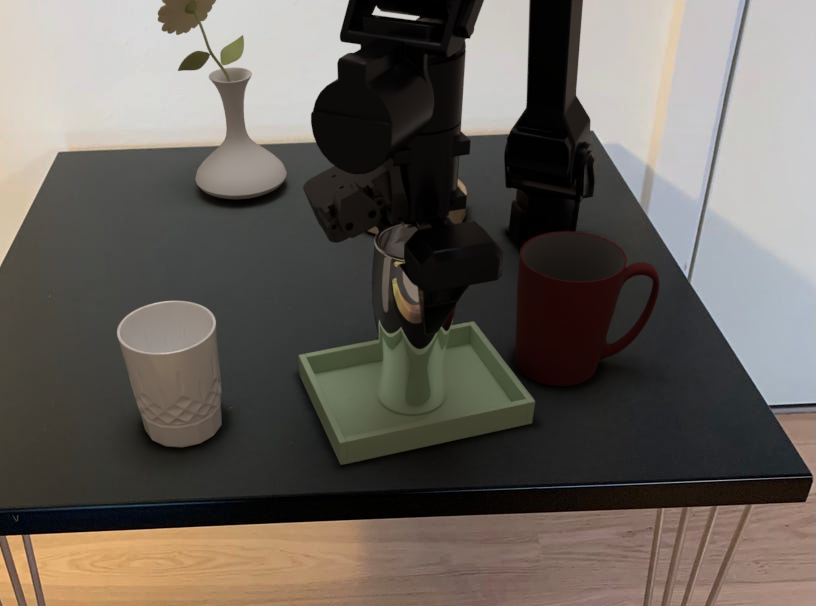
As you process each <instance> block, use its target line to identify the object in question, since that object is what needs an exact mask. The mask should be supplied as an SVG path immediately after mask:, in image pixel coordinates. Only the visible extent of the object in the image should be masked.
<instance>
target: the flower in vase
mask: <svg viewBox="0 0 816 606" xmlns="http://www.w3.org/2000/svg"><path fill="white" fill-rule="evenodd" d="M161 2H162V3H163V4H164V5H161V6H160V7H159V9H158V11H157V16H158V17H157V22H158V23H161V24H162V26H161V31H162V32H167V34H169V35H172V34H173V33H175V35H176V36H180V35H183V34H187V33H189V32H190V31H191V29H195V28H197V27H198V26H199V28H200V32H201V34H202V37H203V40H204V43H205V47H206V49H207V51H208V52H207V51H204V50H203V51H202V50H196V51H193V52H191V53H189V54H188V55H187V56H185V58H183V60H182V61H181V63H180V64H179V67H178V69H177V71H178V72H181V71H198V70H200V69H202V68H203V67H204V66H205V64H207V62H208V60H209V59H210V56H211V57H212V59H213V60H214V62H215V63H216V64H217V66H218V67H219V69H216V70H214V71H212V72H210V74H209V75H208V79H209V81H211V82H212V84H213V85H214V86H215V87H216V90H217V92H218V93H219V96H220V99H221V102H222V106H223V112H224V117H225V125H226V127H225V128H226V132H225V137H224V140H223V141H222V143H221V144H220V145H219V146H218V147H217V148H216V149H214V150H213V151H212V152H211V153H210V154H209V155H208V156H207V157H206V158H205V159H204V160H203V162H202V163H201V164H200V165H199V167H198V168H197V170H196V173H195V174H196V175H195V183H196V185H197V186H198V187H199V188H200V189H201V190H202V191H203V192H204V193H205V194H207V195H209V196H212V197H215V198H219V199H227V200H246V199H252V198H258V197H261V196H264V195H267V194H270V193H271V192H274V191H275V190H278V188H280V187H281V186H282V184H283V183H284V181H285V179H286V177H287V174H288V173H287V169H286V167H285V165H284V163H283V161H282V160H280V159H279V157H277V156H276V155H275V154H274V153H272V152H271V151H269V150H268V149H266V148H265V147H263V146H262V145H259V143H256V142H255V141H254V140H253V139H252V138H251V137H250V136H249V134H248V131H247V127H246V121H245V94H246V89H247V85H248V83H249V81H250V80H251V78H252V76H253V72H252V71H251V70H250V69H247V68H244V67H224V66H228V65H230V64H233V63H234V62H237V61H238V60H239V59H241V58H242V56H243V53H244V48H245V38H244V37H245V36H244V35H243V34H242V35H241V36H239V37H238V38H236V39H235V40H234V41H232V42H230V43H229V44H227V45H225V46H224V47H223V48H222V49H221V50H220V56H219V57H220V58H219V59H220V61H219V59H218V58H217V57H216V56H215V54H214V52H213V51H212V48H211V46H210V44H209V41H208V38H207V34H206V32H205V28H204V26H203V24H202V22H204V21H206V20H207V18H208V13H211V11H212V9H213V5H215V3H216V2H217V0H161Z"/></svg>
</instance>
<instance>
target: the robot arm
mask: <svg viewBox="0 0 816 606" xmlns="http://www.w3.org/2000/svg"><path fill="white" fill-rule="evenodd" d="M484 2H485V0H348V1H347V6H346V10H345V14H344V17H343V21H342V24H341V29H340V32H339V40H340V42H341V43H347V44H353V45H358V46H359V45H360V48H359V49H358V50H357V51H354V52H348V53H346V54H344V55H342V56H341V57H339V58H338V60H337V63H336V65H337V66H336V67H337V78H336V79H335V80H333V81H332V82H330V83H329V84H327V85H326V86H325V87H324V88H323V89H322V90H320V92H319V94H317V95H318V96H317V97H316V99H315V101H314V104H313V105H314V106H313V108H312V111H311V113H310V125H311V132H312V135H313V138H314V141H315V143H316V145H317V147H318V150H320V153H321V154H322V155H323V156H324V157H325V158H326V159H327V161H328V162H329V163H330V164H331V165H333V166H332V167H330V168H328V169H325V170H324V171H322V172H320V173H318V174H316V175H314V176H312V177H311V178H309V179H307V181H305V182H304V184H303V186H302V190H303V191H304V195H305V196H306V199H307V201H308V203H309V205H310V208H311V210H312V213H313V215H314V216H315V218H316V219H315V220H317V223H318V225H319V227H321V229H322V231H323V232H324V234H325V235H326V238H327V240H328V241H329V242H331V243H335V244H336V243H341V242H344V241H346V240H347V239H349V238H350V239H354V238H357V237H358V236H360V235H362V234H364V233H366V232H368V230H370V229H371V228H373V227H375V226H376V227H377V228H378V231H381V230H382V229H383V228H385V227H387V226H390V225H392V224H396V223H401V224H402V225H403V226H404V227H405V228H412V227H416V228H417V231H416V232H415V233H414V234H413V235H412V236H411V237H410V239H409V240H408V241H407V242H406V243H405V244H404V260H405V263H403V264H399V266H400V268H401V269H402V270H403V272H404V273H405V275H406V276H407V277H408V279H409V280H410V282H411V283H412V284H414V285H415V286H417V288H418V296H419V304H420V312H421V319H422V325H423V331H424V333H425V334H426V335H429V334H434V333H437V332H438V331H439V330H440V328H441V327H442V325H443V324H444V322H445V320H446V319H447V317H448V316H449V314H450V313H451V311H452V310H453V308H454V307H455V305H456V306H457V304H458V302H459V301H460V299H461V297H463V294H464V293H466V291H467V290H468V288H469V287H470V286H474V285H478V284H485V283H490V282H495V281H499V279H500V278H501V277H502V275H503V267H504V266H503V265H504V256H505V251H504V249H503V248H502V247H501V246H500V245H499V244H498V243H497V242H496V241H495V240H494V239H493V238H492V236H491V235H490V234H489V233H488V232H487V231H486V230H485V229H484V228H483V227H482V226H481V225H480V224H479V223H477V222H476V221H475V220H469V221H465V222H463V221H462V223H458V224H455V223H454V222H453V221H452V220H451V219H450V217H449V211H455V210H461V209H466V210H467V201H468V200H467V198H468V195H467V196H466V194H465V193H464V192H463V191H462V190H461V189H460V188H459V187H458V186H457V184H458V179H459V166H460V157H461V156H468V155H470V154H471V139H470V138H469V137H468V136H467V135H466V134H465V133H463V132H462V119H463V118H462V117H463V103H464V102H463V101H464V85H465V71H466V69H465V68H466V56H467V55H466V54H467V53H466V52H467V50H466V48H467V45H466V43H467V42H466V40H467V39H468V40H469V39H471V37H472V35H473V34H474V32H475V26H476V23H477V22H478V18H479V15H480V13H481V10H482V7H483V5H484ZM583 5H584V0H529V2H528V33H527V34H528V38H527V68H526V69H527V73H526V74H527V75H526V102H525V103H526V105H525V109H524V110H523V111H522V113H521V115H520V116H519V117H518V118H517V120H516V122H515V123H514V125H513V126H512V128H511V129H510V131H509V134H508V136H507V137H506V144H505V147H504V154H503V155H504V156H503V163H504V180H505V188H506V189H514V190H516V192H515V193H516V195H515V199H513V200H512V201H511V205H510V214H509V223H508V226H506V227H505V230H504V231H505V233H506V234H507V236H509V238H510V239H511V240H512V241H513V242H514V243H515V244H516V245H517V246H518V247H519V248H520V249H521V248H522V246H523V245H524V244H525V243H526V242H527V241H528V240H530V239H532V238H534V237H536V236H538V235H542V234H545V233H551V232H561V231H572V232H577V226H578V225H577V224H578V219H579V212H580V207H581V203H582V202H583V200H584V199H589V198H594V196H595V193H596V188H597V180H598V171H599V162H598V158H597V155H596V151H595V150H596V149H595V146H594V144H593V143H591V118H590V116H589V113H587V111H586V110H585V108H584V106H583V104H582V103H581V101H580V99H579V97H578V96H577V85H578V75H579V74H578V73H579V72H578V71H579V60H580V59H579V58H580V44H581V33H582V19H583V18H582V17H583ZM376 8H377V9H378V10H379V11H380V12H381V13H388V14H389V13H390V14H398V15H405V16H412V17H417V18H416V19H408V18H402V17H401V18H400V17H392V16H385V15H377V14H374V11H375V10H376Z"/></svg>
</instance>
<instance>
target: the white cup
mask: <svg viewBox="0 0 816 606" xmlns="http://www.w3.org/2000/svg"><path fill="white" fill-rule="evenodd" d="M116 336H117V340H118V344H119V347H120V351H121V354H122V358H123V361H124V365H125V369H126V372H127V376H128V379H129V383H130V386H131V389H132V392H133V395H134V401H135V402H136V405H137V408H138V410H139V413H140V416H141V420H142V424H143V427H144V430H145V432H146V433H147V435H148V436H149V438H150V439H151V441H153V442H155V443H157V444H159V445H162V446H164V447H168V448H169V447H171V448H187V447H191V446H197V445H200V444H203V442H205V441H207V440H209V439H211V438H212V437H214V436H215V435H216V434H217V432H218V431H219V429H220V428H221V427H222V425H223V408H222V394H223V393H222V378H221V377H222V376H221V365H220V354H219V353H220V352H219V343H218V342H219V341H218V331H217V319H216V316H215V315H214V313H213V312H212V311H211V310H210V309H209V308H207V307H206V306H203V305H202V304H199V303H197V302H193V301H186V300H164V301H157V302H153V303H150V304H147V305H144V306H141V307H139V308H136V309H135V310H133V311H131V312H130V313H128V314H127V315H125V317H123V319H122V320H121V321H120V322H119V324H118V325H117V329H116Z"/></svg>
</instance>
